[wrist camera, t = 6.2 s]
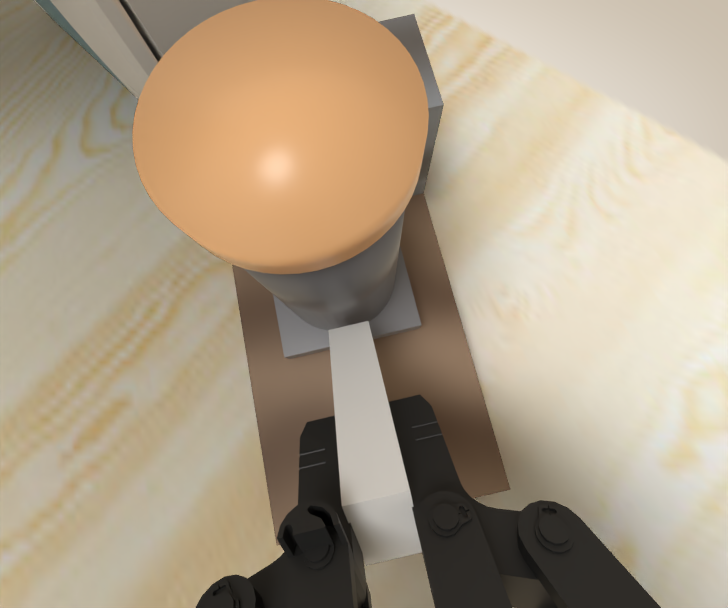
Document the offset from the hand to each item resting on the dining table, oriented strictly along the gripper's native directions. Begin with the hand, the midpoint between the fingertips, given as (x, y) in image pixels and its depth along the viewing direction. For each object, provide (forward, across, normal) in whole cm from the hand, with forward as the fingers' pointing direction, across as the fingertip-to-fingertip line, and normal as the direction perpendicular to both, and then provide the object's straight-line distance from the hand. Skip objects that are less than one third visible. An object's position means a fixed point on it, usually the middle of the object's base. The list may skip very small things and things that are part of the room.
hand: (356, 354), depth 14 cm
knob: (+5, 0, +1) cm, 5 cm away
